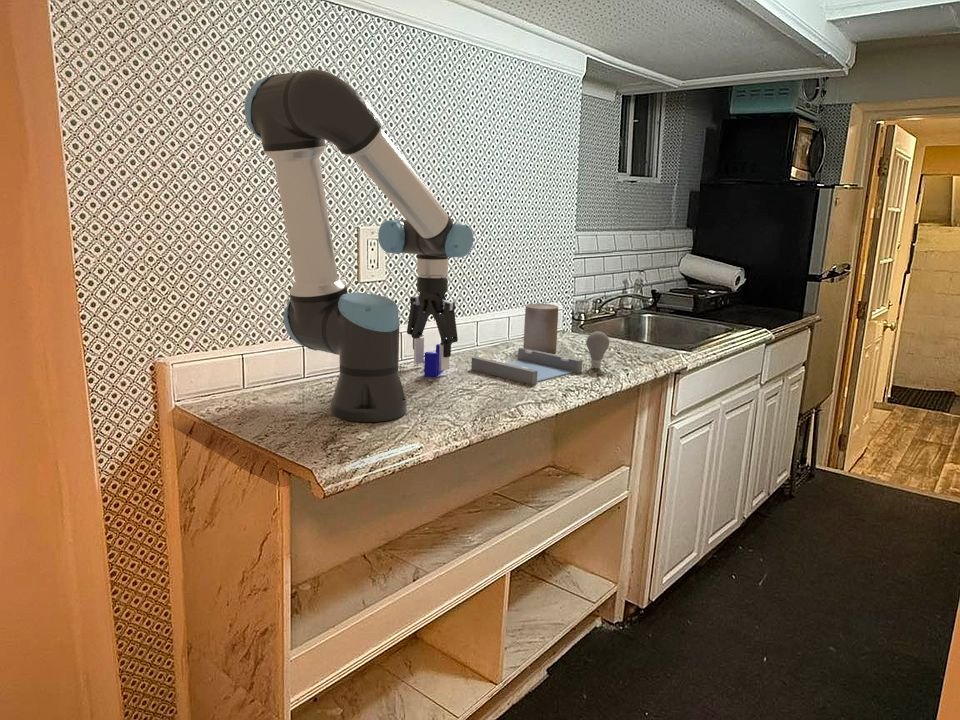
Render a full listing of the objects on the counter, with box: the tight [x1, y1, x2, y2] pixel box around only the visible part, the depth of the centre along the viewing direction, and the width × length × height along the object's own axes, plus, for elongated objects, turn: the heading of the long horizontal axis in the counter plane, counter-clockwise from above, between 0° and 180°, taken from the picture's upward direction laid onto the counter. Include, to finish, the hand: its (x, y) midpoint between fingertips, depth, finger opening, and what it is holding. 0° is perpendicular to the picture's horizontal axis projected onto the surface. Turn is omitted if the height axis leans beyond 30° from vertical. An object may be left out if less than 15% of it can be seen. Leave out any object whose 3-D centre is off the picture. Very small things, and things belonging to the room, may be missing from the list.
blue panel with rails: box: [470, 347, 583, 386], centre depth 176 cm, size 21×20×3 cm
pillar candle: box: [522, 301, 559, 354], centre depth 199 cm, size 10×10×15 cm
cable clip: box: [423, 343, 445, 379], centre depth 172 cm, size 12×4×6 cm, turn 168°
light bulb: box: [585, 330, 610, 370], centre depth 181 cm, size 6×6×10 cm
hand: (431, 366), depth 172 cm, fingers open, 8 cm apart
